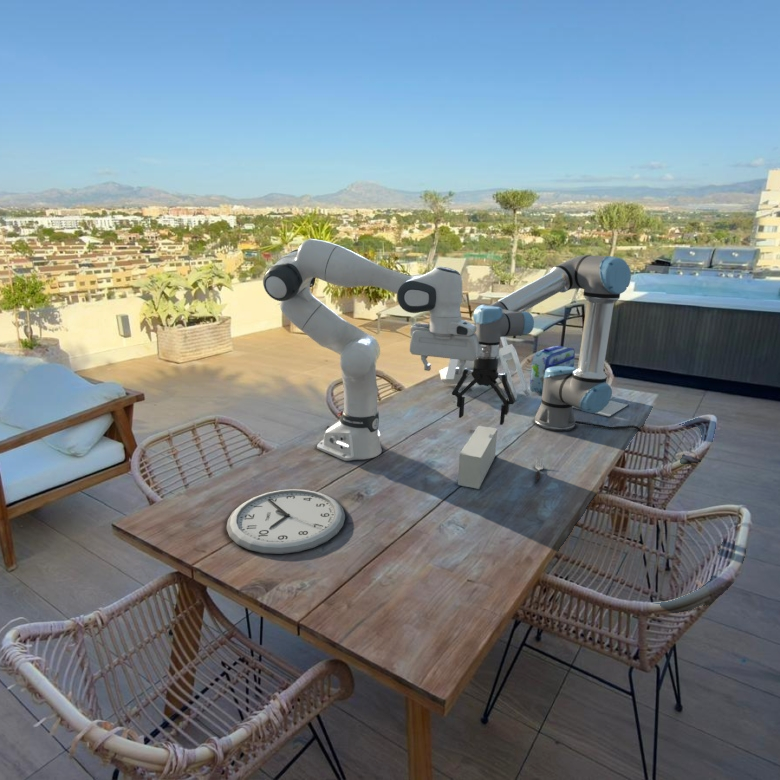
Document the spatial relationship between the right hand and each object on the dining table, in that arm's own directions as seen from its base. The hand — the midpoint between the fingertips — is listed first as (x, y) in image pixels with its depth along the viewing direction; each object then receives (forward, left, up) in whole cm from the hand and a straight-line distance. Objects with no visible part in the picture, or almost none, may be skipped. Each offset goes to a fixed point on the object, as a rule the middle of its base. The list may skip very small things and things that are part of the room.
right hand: (481, 420), depth 170 cm
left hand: (+13, +13, +19) cm, 26 cm away
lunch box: (-37, -81, -13) cm, 90 cm away
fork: (-18, +10, -13) cm, 24 cm away
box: (+1, +9, -13) cm, 16 cm away
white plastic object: (-4, -73, -13) cm, 75 cm away
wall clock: (+51, +47, -13) cm, 70 cm away
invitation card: (-55, -61, -13) cm, 84 cm away
